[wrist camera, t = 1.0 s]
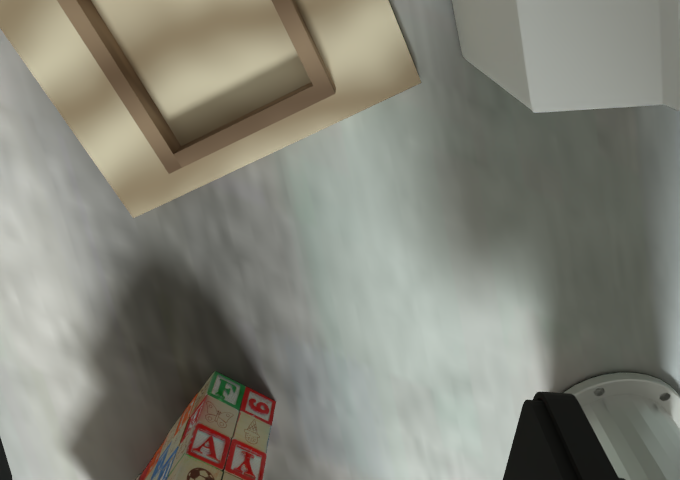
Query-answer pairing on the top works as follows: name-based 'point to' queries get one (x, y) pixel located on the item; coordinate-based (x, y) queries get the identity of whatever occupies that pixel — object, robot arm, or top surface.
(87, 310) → the top surface
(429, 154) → the top surface
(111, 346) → the top surface
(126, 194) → the jig
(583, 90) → the milk carton
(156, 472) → the stack of blocks
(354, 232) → the top surface
